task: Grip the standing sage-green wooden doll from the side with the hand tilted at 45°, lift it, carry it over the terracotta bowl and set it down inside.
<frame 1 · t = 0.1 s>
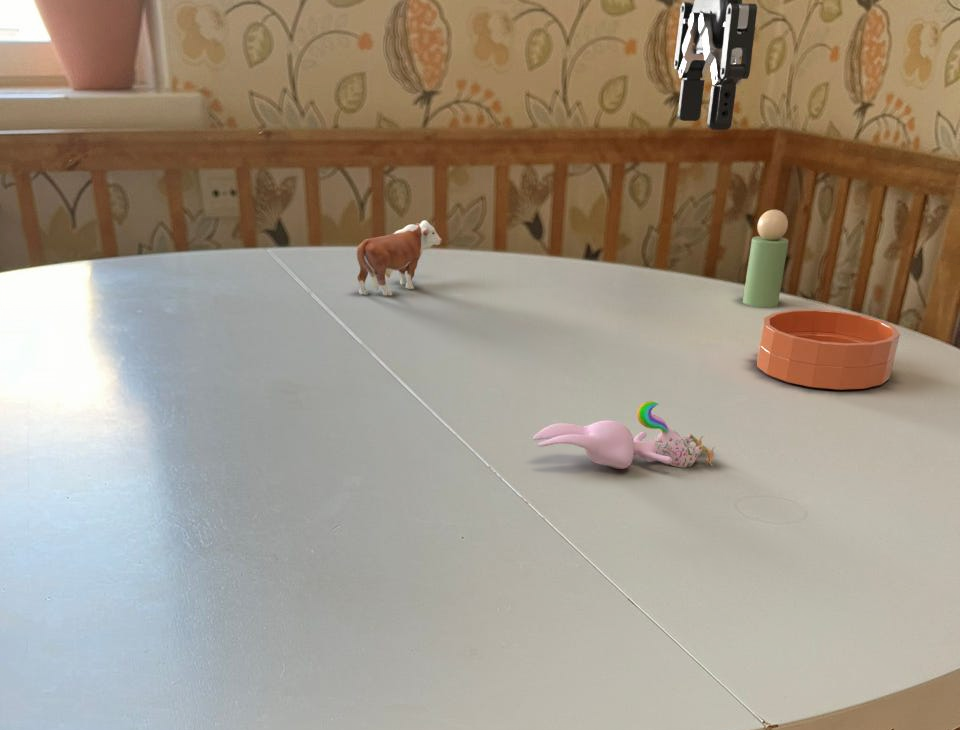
hand: (702, 124, 104), 22 cm above the table, tool pointing down, fingers open, 8 cm apart
doll: (759, 305, 133), on the table
bull figurine: (398, 293, 135), on the table
bowl: (820, 374, 109), on the table
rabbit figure: (621, 470, 86), on the table
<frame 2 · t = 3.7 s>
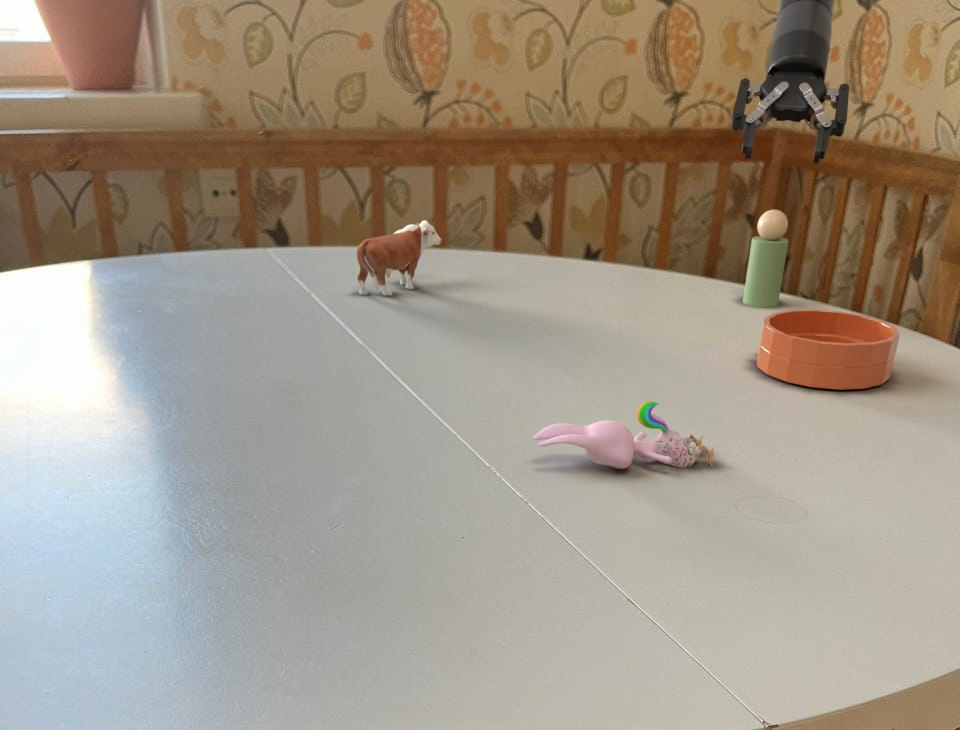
hand: (782, 156, 134), 16 cm above the table, tool tilted 45°, fingers open, 8 cm apart
nothing on the table moved.
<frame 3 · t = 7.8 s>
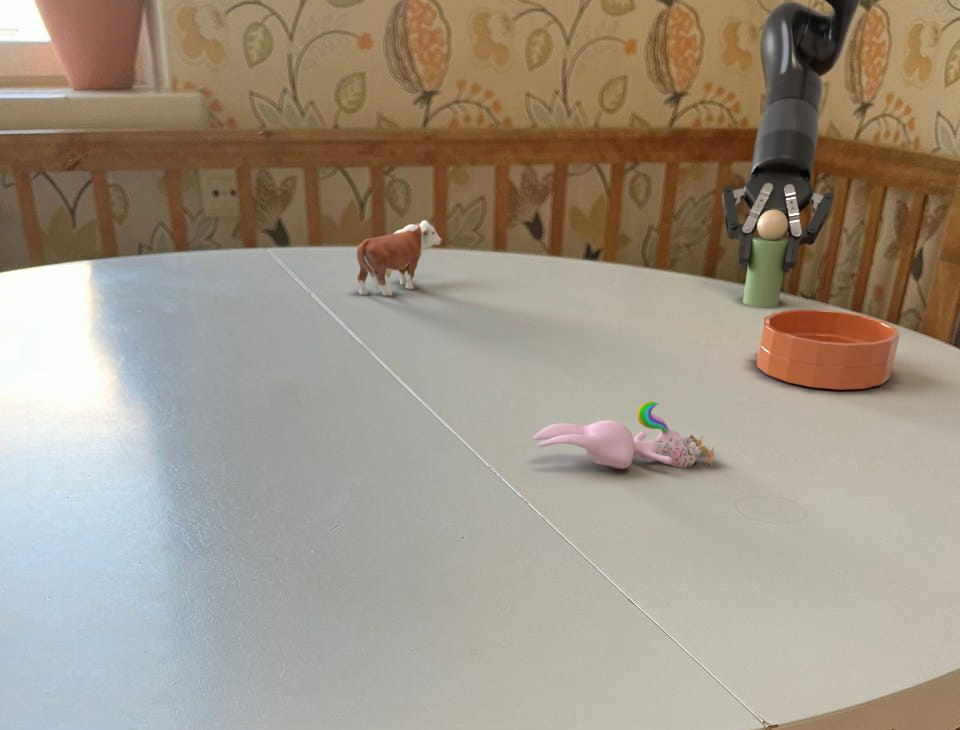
hand: (766, 266, 129), 5 cm above the table, tool tilted 45°, fingers closed on doll, 4 cm apart
doll: (760, 305, 133), on the table, touching gripper
everything else where it was.
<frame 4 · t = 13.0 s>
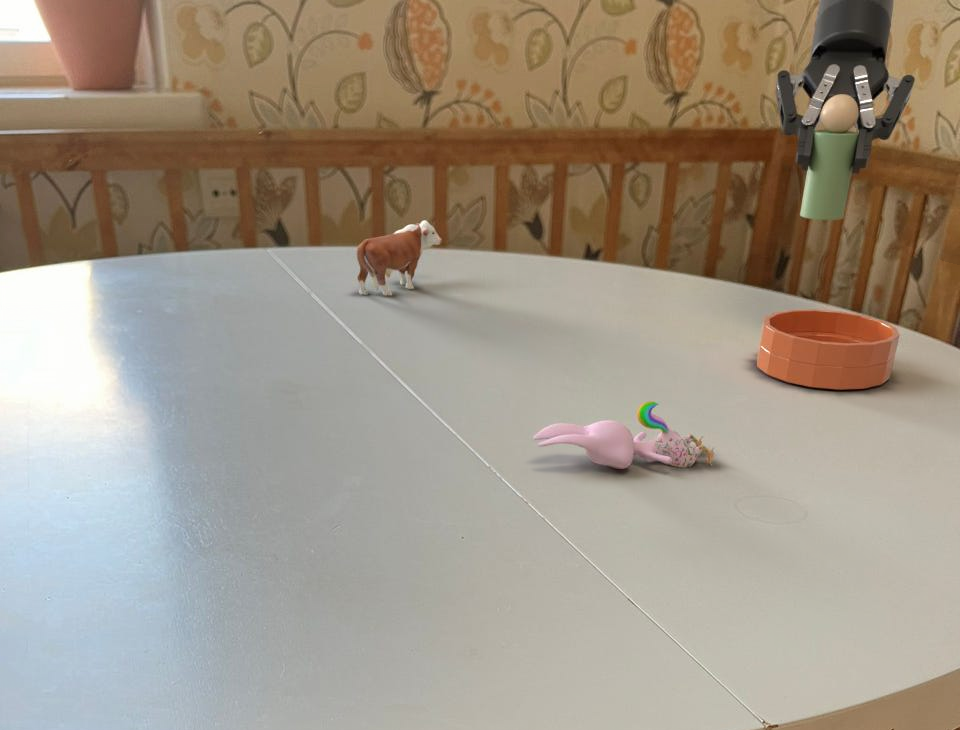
hand: (831, 166, 105), 19 cm above the table, tool tilted 45°, fingers closed on doll, 4 cm apart
doll: (821, 216, 110), point 14 cm above the table, touching gripper
everything else where it was.
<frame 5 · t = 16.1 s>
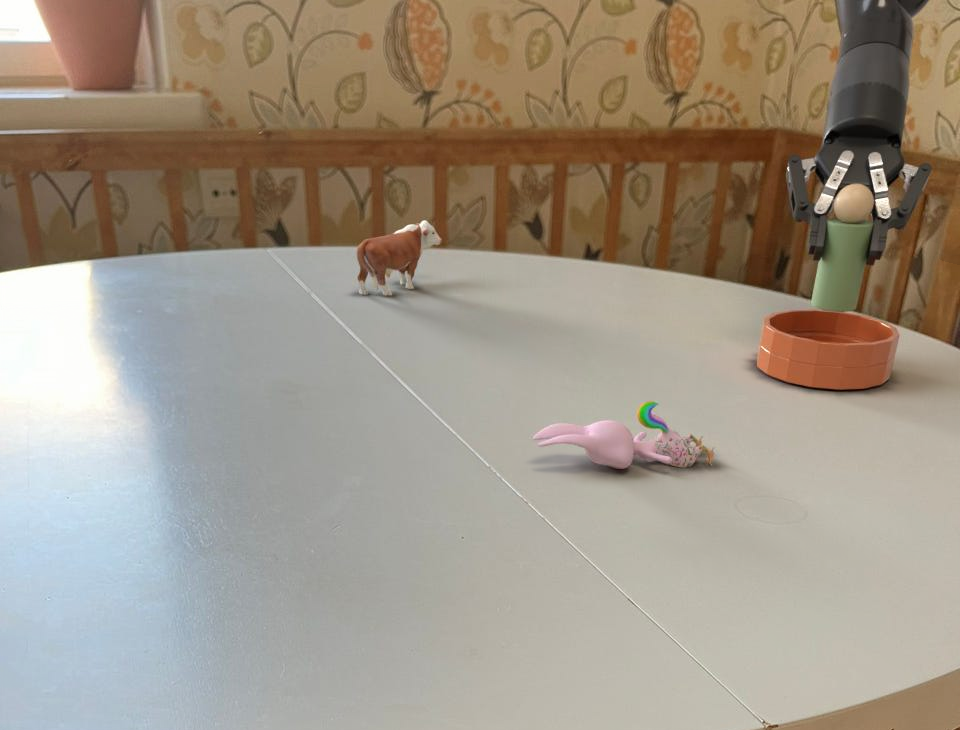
hand: (844, 257, 101), 12 cm above the table, tool tilted 45°, fingers closed on doll, 4 cm apart
doll: (833, 306, 105), point 7 cm above the table, touching gripper
everything else where it was.
when the fingers open (6 cm above the table, at t = 18.3 s): doll stays where it is, resting on bowl.
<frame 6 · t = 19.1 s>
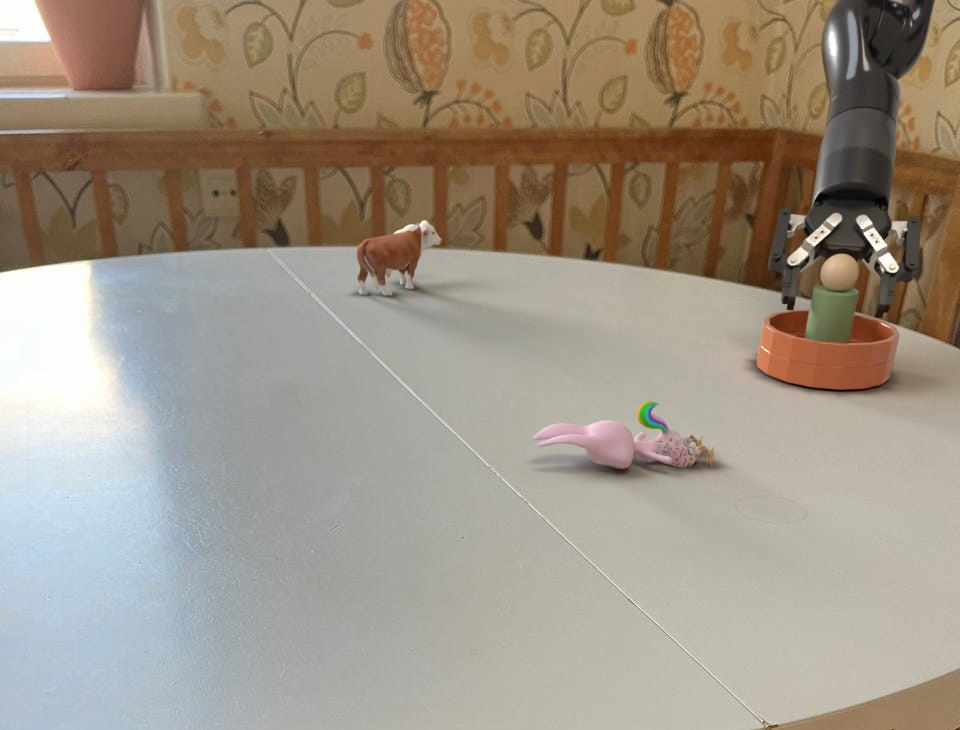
hand: (834, 309, 104), 7 cm above the table, tool tilted 45°, fingers open, 8 cm apart
doll: (820, 368, 108), point 1 cm above the table, touching bowl
everything else where it was.
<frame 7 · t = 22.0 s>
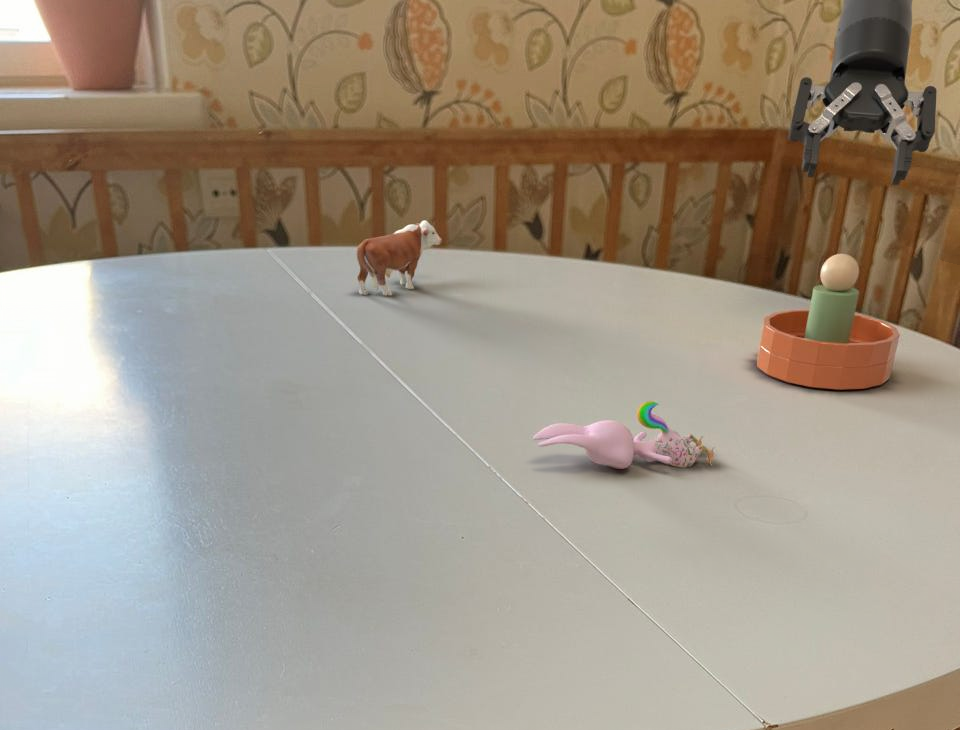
hand: (854, 176, 108), 18 cm above the table, tool tilted 45°, fingers open, 8 cm apart
nothing on the table moved.
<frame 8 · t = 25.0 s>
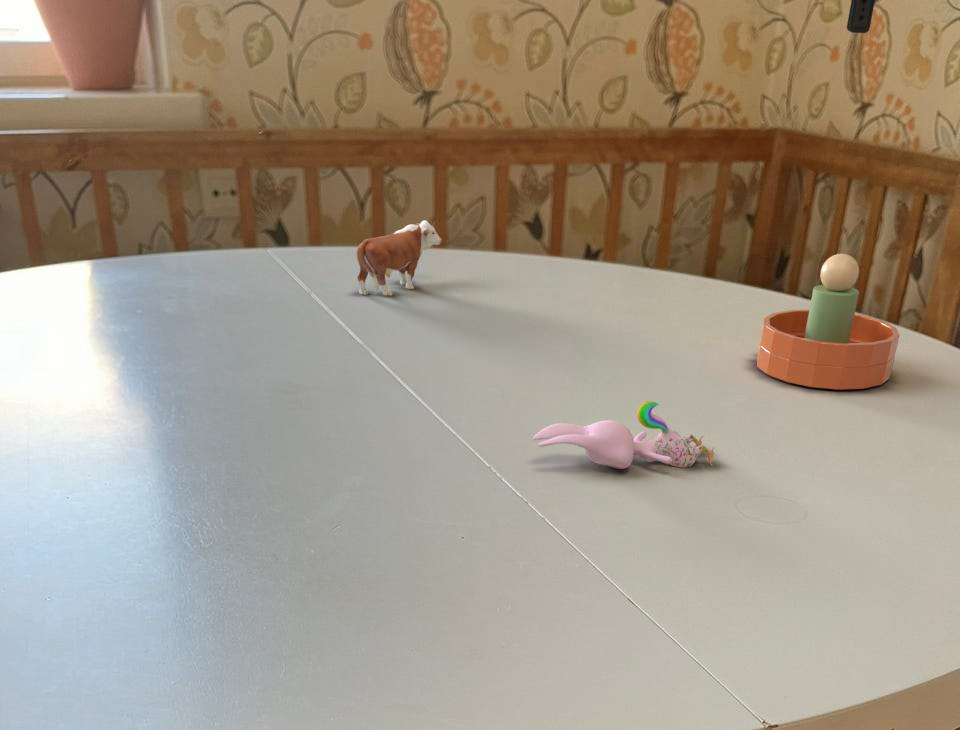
hand: (857, 32, 121), 30 cm above the table, tool pointing down, fingers open, 8 cm apart
nothing on the table moved.
at the end: doll inside the target area in the bowl (0.1 cm from its centre), point 0.6 cm above the bowl's base; the gripper is holding nothing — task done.
